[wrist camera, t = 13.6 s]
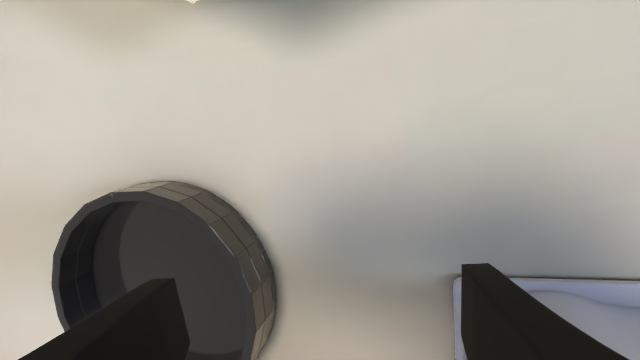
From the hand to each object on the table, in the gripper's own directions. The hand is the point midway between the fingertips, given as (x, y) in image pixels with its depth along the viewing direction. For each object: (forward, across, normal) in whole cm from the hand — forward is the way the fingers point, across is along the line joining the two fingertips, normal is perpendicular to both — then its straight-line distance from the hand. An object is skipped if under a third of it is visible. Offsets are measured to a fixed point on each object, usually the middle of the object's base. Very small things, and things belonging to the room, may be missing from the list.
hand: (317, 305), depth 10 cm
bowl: (+11, +10, +6) cm, 16 cm away
